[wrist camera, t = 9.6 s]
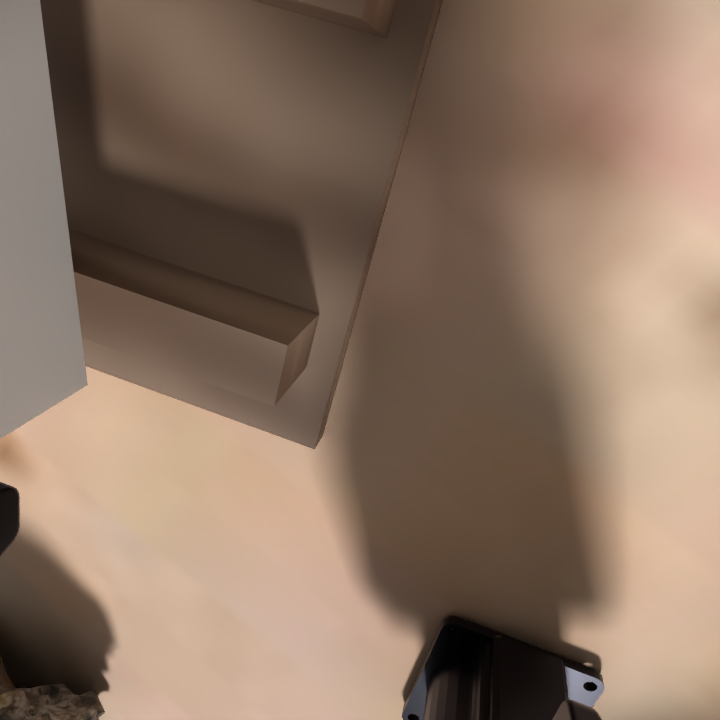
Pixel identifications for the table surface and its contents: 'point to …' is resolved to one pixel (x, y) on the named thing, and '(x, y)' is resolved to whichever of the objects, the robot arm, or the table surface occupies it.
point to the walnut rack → (230, 187)
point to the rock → (45, 702)
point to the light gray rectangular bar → (33, 232)
